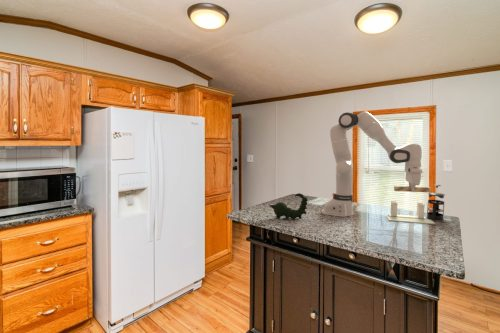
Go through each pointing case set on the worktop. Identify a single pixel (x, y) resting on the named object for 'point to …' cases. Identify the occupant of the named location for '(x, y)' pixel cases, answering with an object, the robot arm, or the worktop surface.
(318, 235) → the worktop surface
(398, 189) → the rail
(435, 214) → the french press
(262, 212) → the worktop surface
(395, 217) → the mat
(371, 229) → the worktop surface
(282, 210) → the toy figurine
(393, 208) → the rack
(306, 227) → the worktop surface
